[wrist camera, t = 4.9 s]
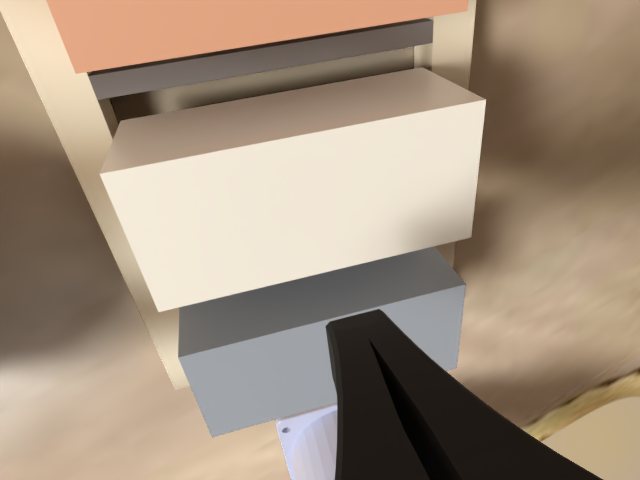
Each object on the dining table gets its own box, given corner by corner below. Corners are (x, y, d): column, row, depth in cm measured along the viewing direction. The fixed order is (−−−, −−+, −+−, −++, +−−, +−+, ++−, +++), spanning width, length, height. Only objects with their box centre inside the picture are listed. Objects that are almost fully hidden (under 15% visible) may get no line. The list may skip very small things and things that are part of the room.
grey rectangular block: (415, 304, 21) (456, 368, 18) (208, 357, 20) (212, 437, 17) (418, 226, 19) (465, 284, 16) (180, 281, 17) (177, 357, 14)
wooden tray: (436, 298, 24) (448, 317, 23) (176, 365, 22) (175, 390, 21) (470, -277, 12) (502, -302, 11) (-91, -242, 10) (-129, -268, 9)
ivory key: (419, 184, 18) (471, 237, 14) (164, 239, 16) (158, 312, 13) (422, 67, 15) (486, 99, 12) (120, 120, 14) (99, 174, 10)
